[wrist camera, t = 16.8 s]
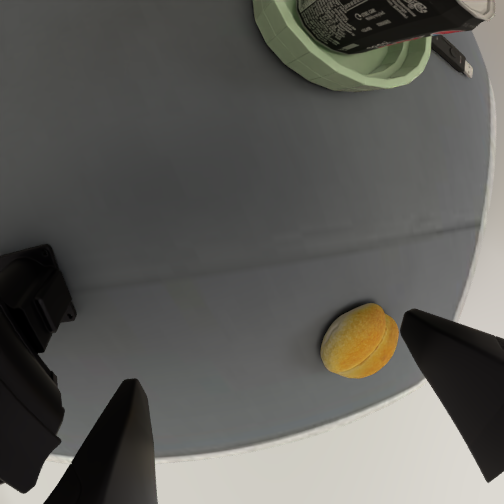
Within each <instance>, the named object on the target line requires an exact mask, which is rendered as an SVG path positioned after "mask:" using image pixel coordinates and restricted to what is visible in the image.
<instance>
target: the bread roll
mask: <svg viewBox="0 0 504 504" xmlns="http://www.w3.org/2000/svg"><path fill="white" fill-rule="evenodd" d="M398 334H399V331H398V327H397V324H396V323H395V321H394V320H393V319H392V318H391V317H390V316H388V315H387V314H384V311H383V309H382V308H381V307H380V306H379V305H377V304H374V303H368V304H365V305H362V306H359V307H357V308H355V309H353V310H351V311H349V312H347V313H345V314H343V315H341V316H339V317H338V318H337V319H336V320H335V321H334V322H333V323H332V325H331V326H330V328H329V329H328V331H327V332H326V334H325V336H324V338H323V342H322V345H321V351H320V352H321V358H322V361H323V363H324V365H325V367H326V368H327V369H328V370H329V371H331V372H334V373H337V374H339V375H341V376H344V377H348V378H363V377H366V376H369V375H372V374H374V373H376V372H377V371H379V370H380V369H381V368H382V367H383V366H384V365H385V364H386V363H387V362H388V361H389V360H390V358H391V357H392V355H393V353H394V351H395V349H396V345H397V341H398Z"/></svg>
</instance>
